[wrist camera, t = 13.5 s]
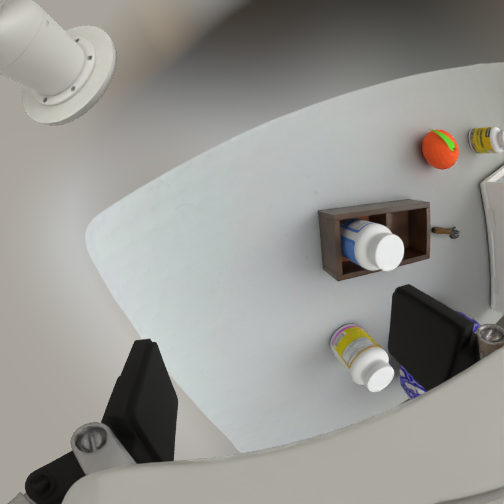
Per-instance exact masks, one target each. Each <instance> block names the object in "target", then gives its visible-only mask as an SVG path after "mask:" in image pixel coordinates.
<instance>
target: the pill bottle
mask: <svg viewBox="0 0 504 504" xmlns="http://www.w3.org/2000/svg"><path fill="white" fill-rule="evenodd" d="M340 235H341V251H342V256H343V257H345V258H346V259H348V260H350V261H352V262H354V263H356V264H357V265H359V266H361V267H363V268H365V269H367V270H371V271H375V270H379V269H381V270H383V271H391V270H393V269H395V268H396V267H397V266H398V265H399V264H400V263H401V261H402V258H403V255H404V245H403V242H402V240H401V239H400V238H399V237H398V236H397V235H394V234H392V232H391V231H390V230H389V229H388V228H387V227H385V226H384V225H381V224H377V223H373V222H369V221H365V220H361V219H357V218H351V219H344V220H342V221H341V222H340Z"/></svg>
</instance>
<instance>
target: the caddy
mask: <svg viewBox="0 0 504 504" xmlns="http://www.w3.org/2000/svg"><path fill="white" fill-rule="evenodd" d="M318 214H319V225H320V236H321V248H322V261H323V270H325V271H326V272H327V273H328V274H330V275H331V276H332V277H333V278H335V279H336V280H337V281H341V280H345V279H350V278H354V277H358V276H362V275H366V274H371V273H375V272H379V271H383V270H381V269H379V270H375V271H371V270H367V269H365V268H363V267H361V266H359V265H357V264H356V263H354V262H352V261H350V260H348V259H346V258H345V257H343V256H342V251H341V235H340V222H341V221H342V220H344V219H351V218H357V219H361V220H365V221H369V222H373V223H377V224H381V225H384V226H385V227H387V228H388V229H389V230H390V231H391V232H392V234H394V235H397V236H398V237H399V238H400V239H401V240H402V242H403V245H404V255H403V258H402V261H401V263H400V264H399V265H398V266H397V267H399V266H402V265H406V264H410V263H414V262H418V261H421V260H425V259H429V258H430V202H424V201H417V200H410V199H406V200H397V201H389V202H381V203H372V204H364V205H356V206H349V207H341V208H334V209H327V210H319V211H318Z"/></svg>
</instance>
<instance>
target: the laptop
mask: <svg viewBox="0 0 504 504" xmlns="http://www.w3.org/2000/svg"><path fill="white" fill-rule="evenodd" d="M480 189H481V194H482V199H483V205H484V211H485V217H486V225H487V233H488V243H489V255H490V274H491V308H492V310H496V311H497V312H499V313H501V314H503V315H504V165H503V166H502V167H501V168H499V169H498V170H497V171H495V172H494V173H493V174H492V175H490V176H489V177H488V178H486V179H485V180H484V181H482V182H481V183H480Z"/></svg>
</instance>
